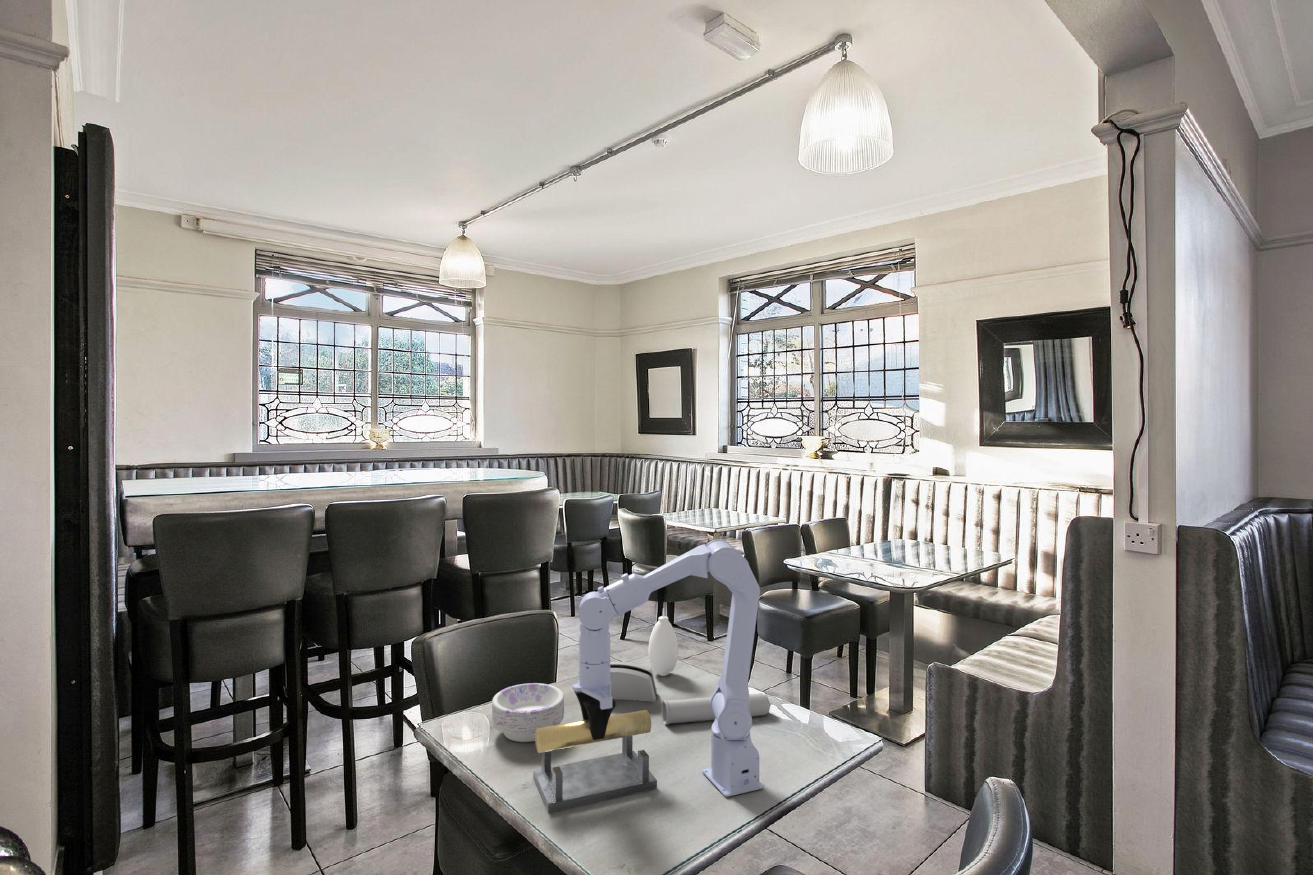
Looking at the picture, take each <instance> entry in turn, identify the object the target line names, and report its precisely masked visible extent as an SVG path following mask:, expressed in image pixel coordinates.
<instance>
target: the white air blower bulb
mask: <svg viewBox="0 0 1313 875" xmlns="http://www.w3.org/2000/svg"><path fill="white" fill-rule="evenodd" d="M657 619H658V621H657V622H656V623H655V624H654V626H653V628H652V630H651V633H650V637H649V641H648V660H649V664H650V666H651V668H652V671H654V672H656V674H657V675H659V676H661V677H666V676H667V675H669V674H670V673H672V671H674V669H675V668H676V665H677V662H678V659H679V658H678V656H679V645H678V644H679V643H678V639H677V635H676V632H675V630H674V626H672V623H671V622H670V620H669V617H668V616H665V608H664V607H663V608H662V615H661V616H659V617H658V618H657Z"/></svg>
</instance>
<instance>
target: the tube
mask: <svg viewBox="0 0 1313 875" xmlns="http://www.w3.org/2000/svg"><path fill="white" fill-rule="evenodd" d="M711 697H712V696H710V697H699V698H698V697H697V698H686V699H683V698H682V699H672V700H671V699H670V700H667V699H663V700H662V702H661V717H662V718H661V719H662V722H663V724H664V725H665V726H668V725H674V724H685V723H696V722H707V721H715V718H716V717H715V715H714V713H713V711H712V709H711V704H710V702H711ZM749 697H750V703H749V711H750V714H751V717H763V716H766V715H767V714H769V713H770V710H771V705H772V704H771V702H770V700H769V698H768V696H767V695H766V694H763V693H749Z"/></svg>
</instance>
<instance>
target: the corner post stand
mask: <svg viewBox="0 0 1313 875" xmlns="http://www.w3.org/2000/svg"><path fill="white" fill-rule="evenodd" d="M633 736H634V735H633ZM633 736H628V737H622V738H621V742H622V744H621V745H622V747H621V750H622V751H621V753H615V754H610V755H604V756H599V757H594V758H590V759H589V758H588V759H583V760H580V761H579V760H578V761H575V762H569V763H564V764H563V763H562V764H558V765H552V751H546V752H541V753H540V754H541V755H540V756H541V759H540V760H541V761H540V762H541V763H540V764H541V766H540V768H539V769H533V770H532V771H533V772H532V774H533V775H532V778H533V781H534V784H535V786H536V788H537V790H538V792H539V794H540V797H541V799H542V801H543V803H544V806H545V809H546V811H547V812H548V813H553V812H558V811H562V810H567V809H571V808H572V809H573V808H575V807H580V806H585V805H589V804H593V803H594V804H595V803H599V802H602V801H607V800H612V799H616V798H621V797H625V796H629V795H630V796H631V795H633V794H634V795H635V794H640V793H644V792H649V791H653V790H657V789H658V780H657V779H656V777H655V776H654V774H653V773H652V772H651V771H650V754H648V752H646V751H645V749H642V750H637V752H635V751H634V748H633V743H634V742H633Z"/></svg>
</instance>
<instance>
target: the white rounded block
mask: <svg viewBox="0 0 1313 875" xmlns="http://www.w3.org/2000/svg"><path fill="white" fill-rule="evenodd" d="M610 681H611V696H612V699H614V700H622V701H623V700H624V701H636V700H640V701H639V702H650V701H652V702H656V700H657V697H656V696H658V691H657V690H658V688H657V686H656V682H655V677H654V674H653V669H651V668H649V667H647V666H644V665H642V664H638V663H632V662H628V661H627V662H625V661H610Z"/></svg>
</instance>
